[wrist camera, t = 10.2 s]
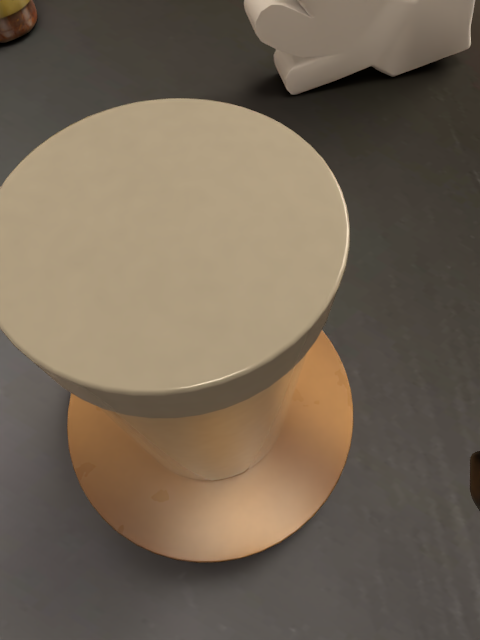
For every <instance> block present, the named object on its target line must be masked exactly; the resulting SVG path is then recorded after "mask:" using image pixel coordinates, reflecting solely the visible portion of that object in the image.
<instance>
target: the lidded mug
mask: <svg viewBox="0 0 480 640" xmlns="http://www.w3.org/2000/svg"><path fill="white" fill-rule="evenodd" d="M349 249H350V224H349V217H348V210H347V206H346V203H345V200H344V197H343V194H342V190H341V188H340V186H339V184H338V182H337V180H336V178H335V176H334V174H333V172H332V171H331V170H330V168H329V167H328V165H327V164H326V162H325V161H324V160H323V158H322V157H321V156H320V155H319V154H318V153H317V152H316V151H315V150H314V149H313V147H312V146H311V145H310V144H308V143H307V142H306V141H305V140H304V139H302V138H301V137H300V136H299V135H298V134H296V133H295V132H293V131H292V130H290V129H289V128H287V127H286V126H284V125H283V124H281V123H279V122H277V121H275V120H273V119H271V118H269V117H267V116H265V115H263V114H260V113H258V112H255V111H252V110H250V109H247V108H244V107H240V106H236V105H233V104H229V103H224V102H218V101H212V100H205V99H192V98H167V99H156V100H147V101H141V102H136V103H130V104H126V105H122V106H118V107H115V108H111V109H108V110H105V111H102V112H99V113H97V114H94V115H91V116H89V117H86V118H84V119H82V120H80V121H78V122H76V123H74V124H72V125H70V126H68V127H66V128H65V129H63V130H61V131H60V132H58V133H56V134H55V135H53V136H52V137H50V138H49V139H47V140H46V141H45V142H43V143H42V144H41V145H39V146H38V147H37V148H35V149H34V150H33V151H32V152H31V153H30V154H29V155H28V156H27V157H25V158H24V159H23V160H22V161H21V162H20V163H19V165H18V166H17V167H16V168H15V169H14V170H13V171H12V172H11V174H10V175H9V176H8V177H7V179H6V180H5V182H4V183H3V185H2V186H1V187H0V329H1V331H2V332H3V333H4V334H5V335H6V337H7V338H8V339H9V340H10V341H11V343H12V344H13V345H14V346H15V347H16V348H17V349H18V350H20V351H21V352H22V353H23V354H24V355H25V356H27V357H28V358H29V359H30V360H31V361H32V362H34V363H35V364H36V365H37V366H38V367H39V368H41V369H42V370H43V371H44V372H45V373H46V374H48V375H49V376H50V377H51V378H52V379H53V380H55V381H56V382H57V383H58V384H59V385H60V386H62V387H63V388H64V389H66V390H67V391H69V392H71V393H72V394H74V395H75V396H77V397H79V398H80V399H82V400H84V401H86V402H89V403H91V404H93V405H96V406H97V407H98V408H100V409H101V410H102V411H103V412H104V413H105V414H106V415H107V416H108V417H109V418H110V419H111V420H112V421H113V422H115V423H116V424H117V425H118V426H119V427H120V428H121V429H122V430H123V431H124V432H125V433H126V434H127V435H129V436H130V437H131V438H132V439H133V440H134V441H135V442H136V443H137V444H138V445H139V446H140V447H141V448H143V449H144V450H145V451H146V452H147V453H148V454H149V455H150V456H151V457H152V458H153V459H154V460H156V461H157V462H158V463H159V464H160V465H161V466H163V467H164V468H166V469H167V470H169V471H171V472H173V473H175V474H177V475H179V476H182V477H185V478H189V479H194V480H201V481H214V480H221V479H226V478H229V477H233V476H236V475H238V474H240V473H243V472H245V471H246V470H248V469H250V468H251V467H253V466H254V465H256V464H257V463H258V462H259V461H261V460H262V459H263V458H264V457H265V456H266V455H267V454H268V453H269V452H270V450H271V449H272V447H273V446H274V445H275V443H276V441H277V440H278V438H279V436H280V434H281V431H282V429H283V426H284V423H285V420H286V417H287V414H288V411H289V408H290V405H291V401H292V398H293V395H294V392H295V389H296V386H297V383H298V380H299V377H300V374H301V370H302V367H303V364H304V361H305V358H306V355H307V352H308V351H309V349H310V348H311V347H312V345H313V344H314V343H315V341H316V340H317V338H318V336H319V334H320V333H321V331H322V329H323V327H324V325H325V323H326V321H327V318H328V316H329V313H330V310H331V307H332V305H333V302H334V299H335V296H336V294H337V291H338V288H339V285H340V283H341V280H342V277H343V274H344V272H345V269H346V265H347V259H348V254H349Z"/></svg>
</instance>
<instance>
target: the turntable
mask: <svg viewBox="0 0 480 640" xmlns="http://www.w3.org/2000/svg"><path fill="white" fill-rule="evenodd" d="M352 430H353V404H352V396H351V389H350V386H349V382H348V378H347V375H346V371H345V369H344V367H343V364H342V362H341V359H340V357H339V355H338V353H337V352H336V350H335V348H334V347H333V345H332V343H331V341H330V340H329V339H328V337H327V336H326V335H325V334H324V332H323V331H321V333H320V334H319V336H318V338H317V340H316V341H315V343H314V344H313V345H312V347H311V348H310V349H309V351H308V352H307V355H306V358H305V361H304V364H303V367H302V370H301V374H300V377H299V380H298V383H297V386H296V389H295V392H294V395H293V398H292V401H291V405H290V408H289V411H288V414H287V417H286V420H285V423H284V426H283V429H282V431H281V434H280V436H279V438H278V440H277V441H276V443H275V445H274V446H273V447H272V449H271V450H270V452H269V453H268V454H267V455H266V456H265V457H264V458H263V459H262V460H261V461H259V462H258V463H257V464H256V465H254V466H253V467H251V468H250V469H248V470H246V471H245V472H243V473H240V474H238V475H236V476H233V477H229V478H226V479H221V480H214V481H201V480H194V479H189V478H185V477H182V476H179V475H177V474H175V473H173V472H171V471H169V470H167V469H166V468H164V467H163V466H161V465H160V464H159V463H158V462H157V461H156V460H154V459H153V458H152V457H151V456H150V455H149V454H148V453H147V452H146V451H145V450H144V449H143V448H141V447H140V446H139V445H138V444H137V443H136V442H135V441H134V440H133V439H132V438H131V437H130V436H129V435H127V434H126V433H125V432H124V431H123V430H122V429H121V428H120V427H119V426H118V425H117V424H116V423H115V422H113V421H112V420H111V419H110V418H109V417H108V416H107V415H106V414H105V413H104V412H103V411H102V410H101V409H100V408H98V407H97V406H96V405H93V404H91V403H89V402H86V401H84V400H82V399H80V398H79V397H77V396H75V395H74V394H72V393H71V397H70V403H69V409H68V424H67V433H68V443H69V451H70V455H71V459H72V463H73V468H74V470H75V473H76V475H77V478H78V480H79V483H80V485H81V487H82V489H83V491H84V493H85V494H86V496H87V498H88V499H89V501H90V503H91V504H92V505H93V507H94V508H95V509H96V510H97V512H98V513H99V514H100V515H101V517H102V518H103V519H104V520H105V521H106V522H107V523H108V524H109V525H110V526H111V527H113V528H114V529H115V530H116V531H117V532H118V533H119V534H121V535H122V536H124V537H125V538H127V539H128V540H130V541H131V542H133V543H134V544H136V545H138V546H140V547H142V548H144V549H146V550H148V551H150V552H153V553H155V554H158V555H161V556H165V557H168V558H172V559H175V560H182V561H189V562H197V563H198V562H223V561H229V560H235V559H240V558H243V557H247V556H250V555H253V554H256V553H259V552H262V551H264V550H266V549H268V548H270V547H272V546H274V545H276V544H278V543H280V542H281V541H283V540H284V539H286V538H287V537H289V536H290V535H292V534H293V533H295V532H296V531H297V530H299V529H300V528H301V527H302V526H303V525H304V524H305V523H306V522H307V521H308V520H310V519H311V518H312V517H313V516H314V515H315V513H316V512H317V511H318V510H319V509H320V507H321V506H322V505H323V504H324V502H325V501H326V500H327V498H328V497H329V495H330V494H331V492H332V490H333V489H334V487H335V485H336V484H337V482H338V480H339V477H340V475H341V473H342V470H343V468H344V466H345V463H346V460H347V456H348V452H349V449H350V445H351V438H352Z"/></svg>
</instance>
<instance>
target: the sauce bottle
mask: <svg viewBox="0 0 480 640" xmlns="http://www.w3.org/2000/svg"><path fill="white" fill-rule="evenodd" d="M36 21H37V11H36V8H35V5H34V2H33V0H0V43H3V42H9V41H11V40H14V39H16V38H18V37H20V36H23V35H25V34H27V33H28V32H30V30H31V29H32V28H33V26H35V23H36Z"/></svg>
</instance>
